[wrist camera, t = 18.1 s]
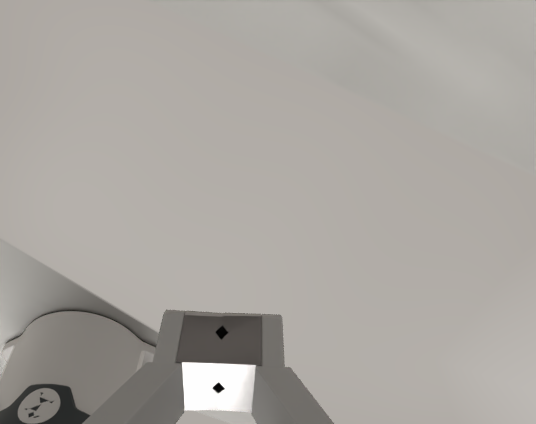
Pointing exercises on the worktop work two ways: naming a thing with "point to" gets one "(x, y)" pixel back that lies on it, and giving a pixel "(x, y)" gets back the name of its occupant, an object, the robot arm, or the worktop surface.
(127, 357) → the robot arm
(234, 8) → the worktop surface
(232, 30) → the worktop surface
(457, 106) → the worktop surface
